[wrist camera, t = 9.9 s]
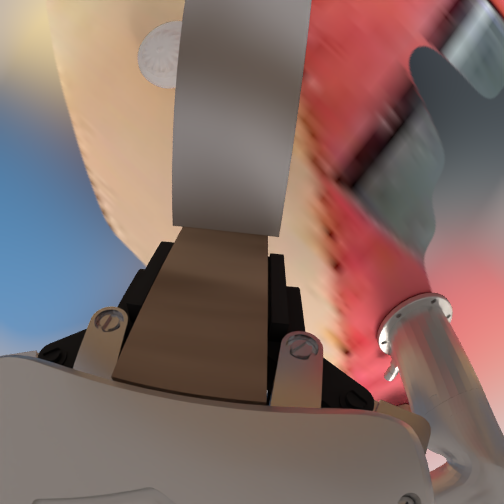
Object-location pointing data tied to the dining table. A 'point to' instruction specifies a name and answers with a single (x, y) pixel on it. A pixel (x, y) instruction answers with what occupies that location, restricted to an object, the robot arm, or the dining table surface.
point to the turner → (222, 201)
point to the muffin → (161, 54)
